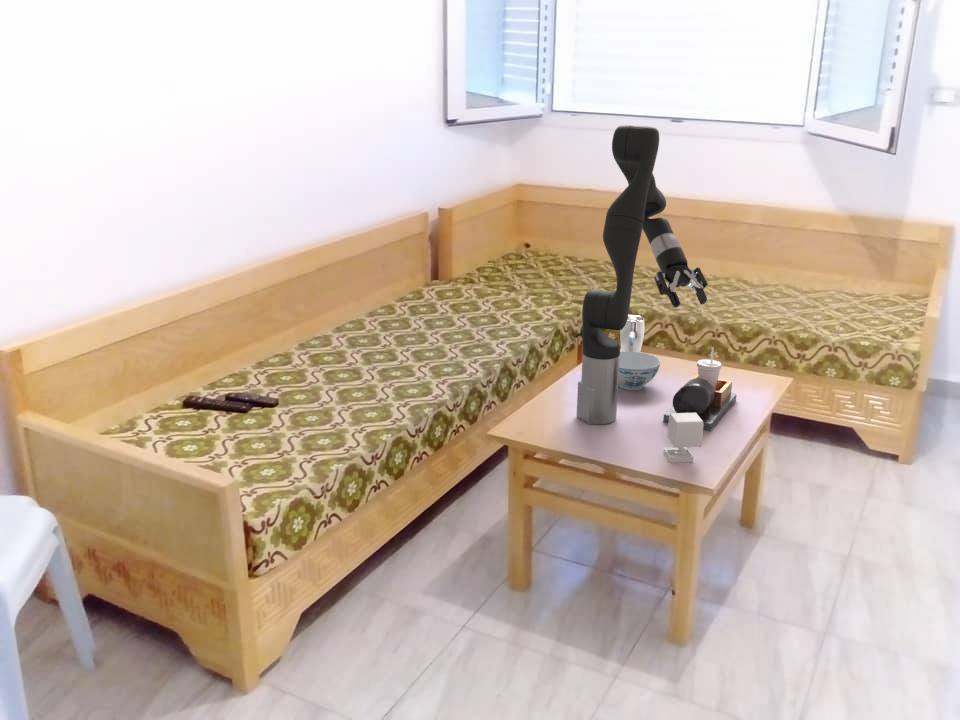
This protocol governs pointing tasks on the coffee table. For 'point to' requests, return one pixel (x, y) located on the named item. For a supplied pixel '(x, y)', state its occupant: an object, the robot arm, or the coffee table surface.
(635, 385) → the chinaware
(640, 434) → the coffee table surface
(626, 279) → the robot arm
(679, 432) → the security camera
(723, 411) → the motor mount
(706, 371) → the smoothie
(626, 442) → the coffee table surface
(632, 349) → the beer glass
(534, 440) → the coffee table surface
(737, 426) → the coffee table surface
